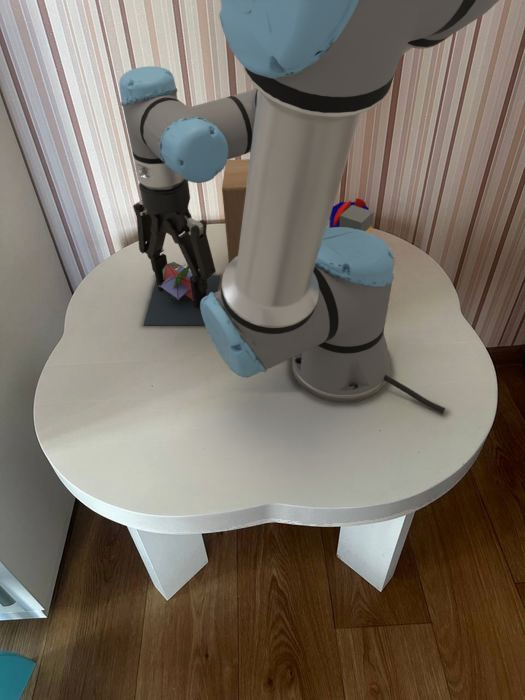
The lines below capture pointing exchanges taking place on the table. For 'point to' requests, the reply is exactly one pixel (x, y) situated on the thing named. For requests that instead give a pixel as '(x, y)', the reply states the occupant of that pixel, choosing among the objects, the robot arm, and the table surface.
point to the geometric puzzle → (177, 281)
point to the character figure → (357, 219)
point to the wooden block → (234, 202)
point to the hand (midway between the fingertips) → (182, 295)
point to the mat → (176, 308)
